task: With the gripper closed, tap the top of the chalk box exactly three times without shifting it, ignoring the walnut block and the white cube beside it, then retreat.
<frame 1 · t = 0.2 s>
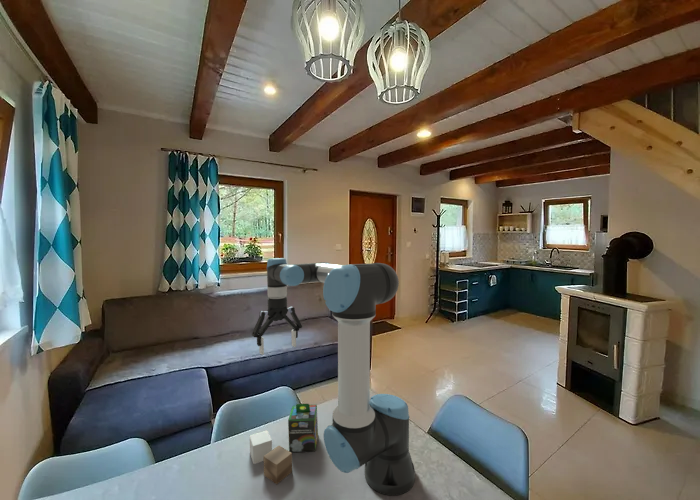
hand: (278, 349, 119), 28 cm above the table, fingers open, 13 cm apart
white cube: (260, 455, 100), on the table
chalk box: (303, 444, 105), on the table
walnut block: (278, 473, 92), on the table
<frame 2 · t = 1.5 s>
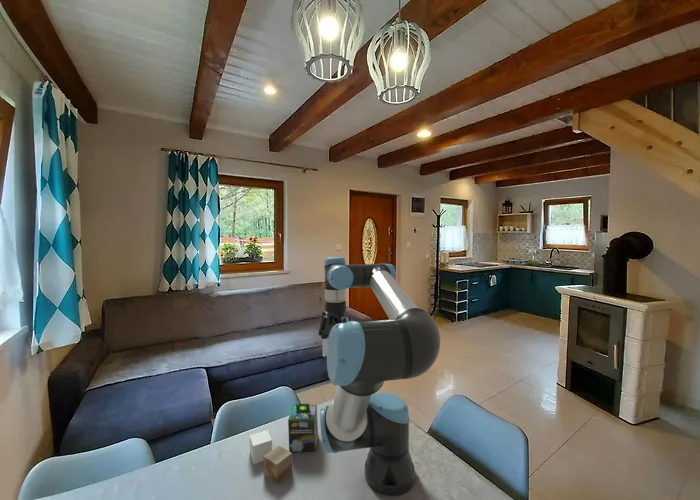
hand: (336, 360, 107), 28 cm above the table, fingers open, 12 cm apart
nothing on the table moved.
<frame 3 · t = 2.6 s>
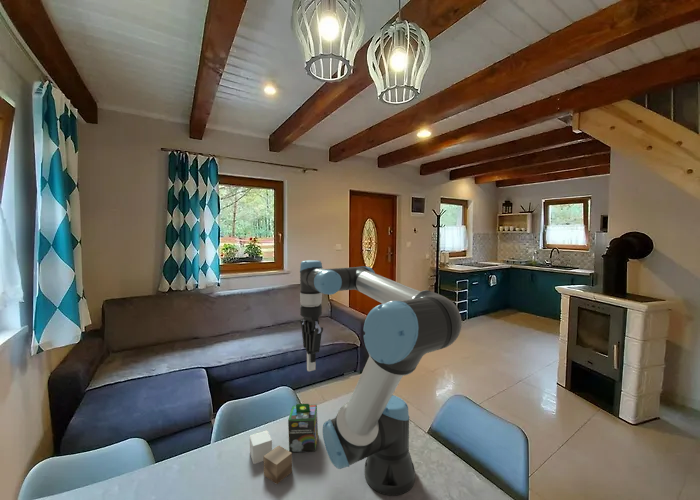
hand: (311, 369, 106), 25 cm above the table, fingers closed
nothing on the table moved.
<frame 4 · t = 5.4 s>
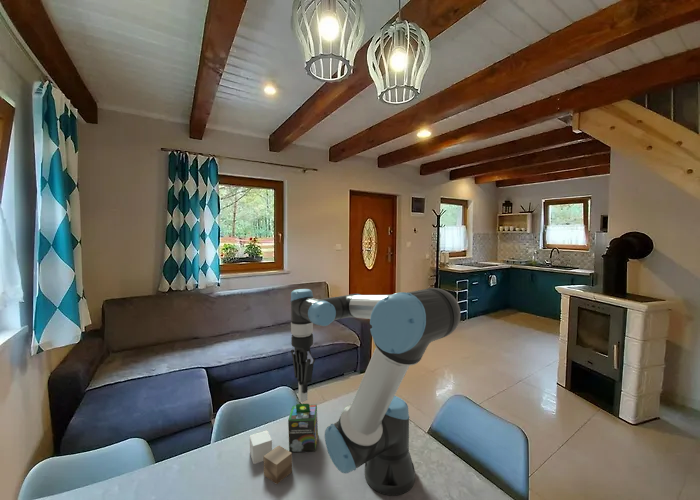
hand: (303, 400, 105), 15 cm above the table, fingers closed
nothing on the table moved.
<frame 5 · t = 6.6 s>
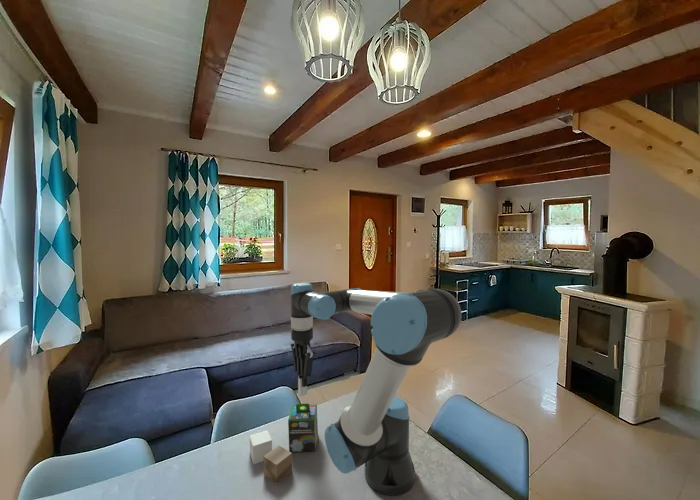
hand: (302, 394, 105), 17 cm above the table, fingers closed
nothing on the table moved.
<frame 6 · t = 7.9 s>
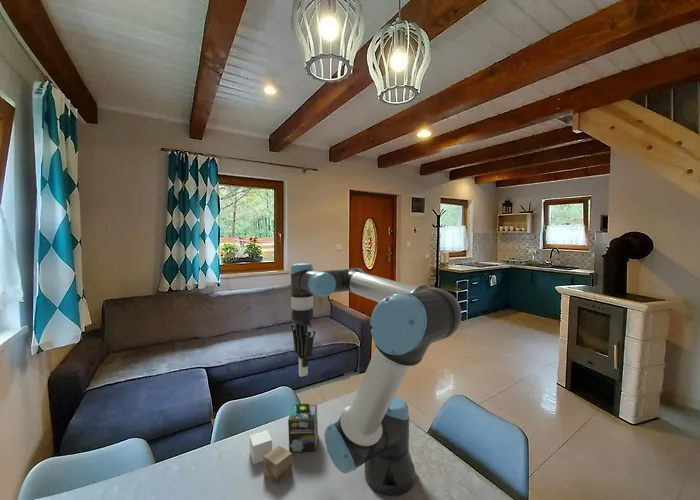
hand: (303, 375, 104), 24 cm above the table, fingers closed
nothing on the table moved.
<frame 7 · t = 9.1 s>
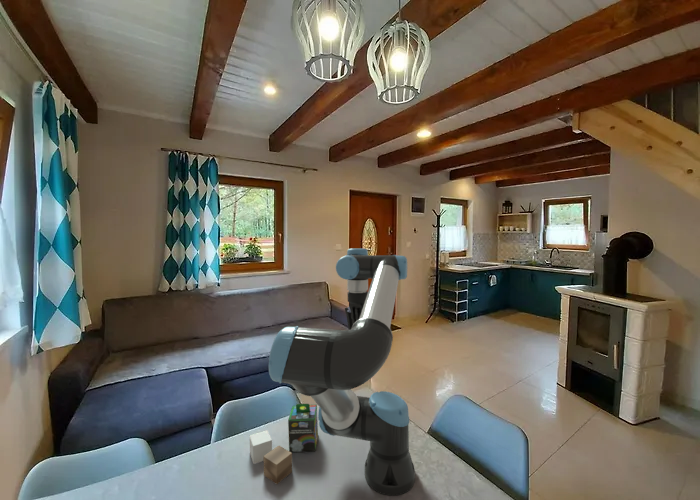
hand: (358, 355, 108), 29 cm above the table, fingers closed
nothing on the table moved.
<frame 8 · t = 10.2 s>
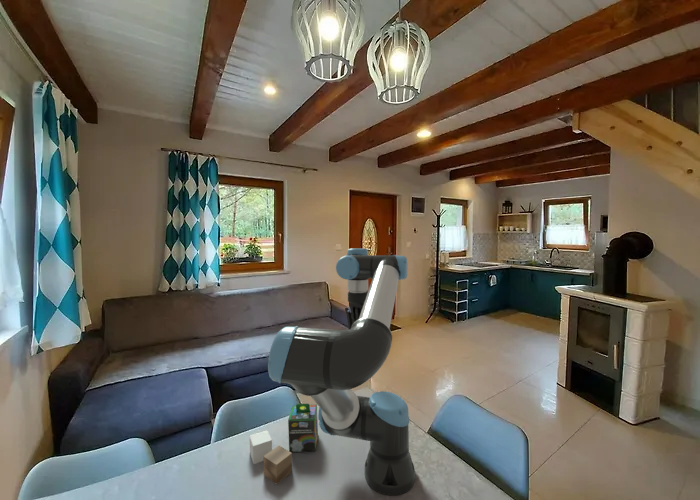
hand: (358, 355, 108), 29 cm above the table, fingers closed
nothing on the table moved.
at the end: chalk box moved 0.3 cm from its start; chalk box tilted 0°; chalk box touching table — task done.
